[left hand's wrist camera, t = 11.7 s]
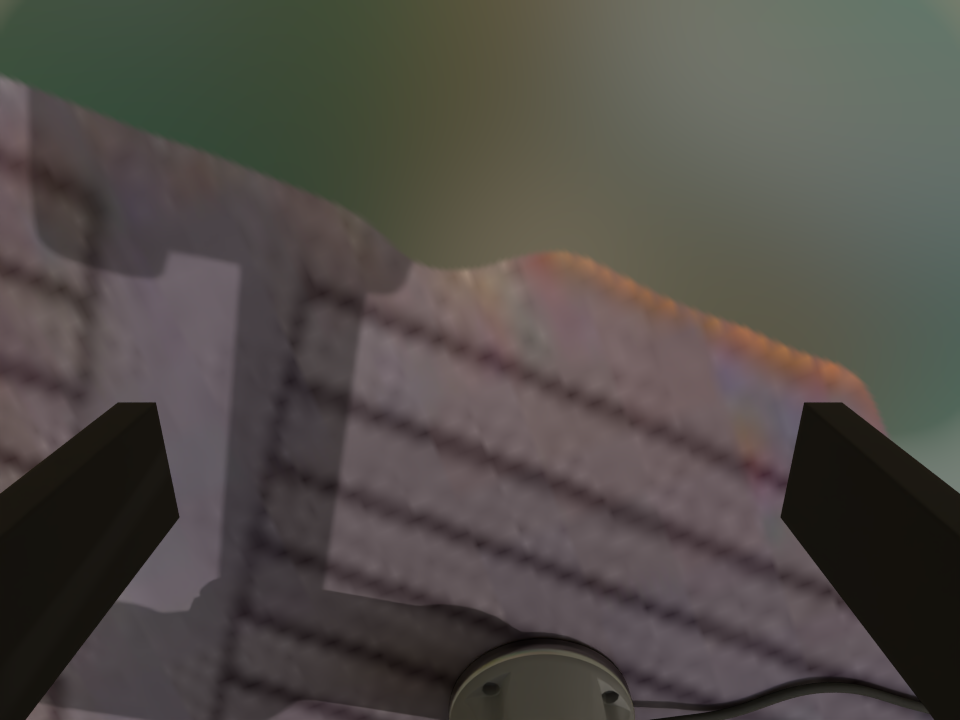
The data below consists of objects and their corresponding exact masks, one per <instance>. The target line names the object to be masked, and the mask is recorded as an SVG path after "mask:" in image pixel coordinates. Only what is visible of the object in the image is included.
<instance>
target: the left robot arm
mask: <svg viewBox="0 0 960 720" xmlns="http://www.w3.org/2000/svg"><path fill="white" fill-rule="evenodd" d="M178 519H179V513H178V508H177V503H176V498H175V493H174V488H173V484H172V479H171V474H170V469H169V464H168V459H167V454H166V450H165V445H164V440H163V435H162V430H161V425H160V420H159V416H158V411H157V406H156V403H117V404H115V405H114V406H113V407H112V408H110V409H109V410H108V411H106V412H105V413H104V414H103V415H101V416H100V417H99V418H97V419H96V420H95V421H93V422H92V423H91V424H90V425H88V426H87V427H86V428H84V429H83V430H82V431H81V432H79V433H78V434H77V435H75V436H74V437H73V438H72V439H70V440H69V441H68V442H66V443H65V444H64V445H62V446H61V447H60V448H59V449H57V450H56V451H55V452H53V453H52V454H51V455H50V456H48V457H47V458H46V459H44V460H43V461H42V462H41V463H39V464H38V465H37V466H35V467H34V468H33V469H32V470H30V471H29V472H28V473H26V474H25V475H24V476H22V477H21V478H20V479H19V480H17V481H16V482H15V483H13V484H12V485H11V486H10V487H8V488H7V489H6V490H4V491H3V492H2V493H1V494H0V720H26V718H27V717H28V716H29V714H30V713H31V712H32V711H33V709H34V708H35V707H36V705H37V704H38V703H39V701H40V700H41V699H42V697H43V696H44V695H45V693H46V692H47V691H48V690H49V688H50V687H51V686H52V684H53V683H54V682H55V680H56V679H57V678H58V676H59V675H60V674H61V672H62V671H63V670H64V668H65V667H66V666H67V665H68V663H69V662H70V661H71V659H72V658H73V657H74V655H75V654H76V653H77V651H78V650H79V649H80V647H81V646H82V645H83V643H84V642H85V641H86V640H87V638H88V637H89V636H90V634H91V633H92V632H93V630H94V629H95V628H96V626H97V625H98V624H99V622H100V621H101V620H102V619H103V617H104V616H105V615H106V613H107V612H108V611H109V609H110V608H111V607H112V605H113V604H114V603H115V601H116V600H117V599H118V597H119V596H120V595H121V594H122V592H123V591H124V590H125V588H126V587H127V586H128V584H129V583H130V582H131V580H132V579H133V578H134V576H135V575H136V574H137V572H138V571H139V570H140V569H141V567H142V566H143V565H144V563H145V562H146V561H147V559H148V558H149V557H150V555H151V554H152V553H153V551H154V550H155V549H156V547H157V546H158V545H159V544H160V542H161V541H162V540H163V538H164V537H165V536H166V534H167V533H168V532H169V530H170V529H171V528H172V526H173V525H174V524H175V523H176V521H177V520H178ZM781 519H782V520H783V521H784V523H785V524H786V525H787V526H788V528H789V529H790V530H791V532H792V533H793V534H794V536H795V537H796V538H797V540H798V541H799V542H800V544H801V545H802V546H803V547H804V549H805V550H806V551H807V553H808V554H809V555H810V557H811V558H812V559H813V561H814V562H815V563H816V565H817V566H818V567H819V569H820V570H821V571H822V572H823V574H824V575H825V576H826V578H827V579H828V580H829V582H830V583H831V584H832V586H833V587H834V588H835V590H836V591H837V592H838V594H839V595H840V596H841V597H842V599H843V600H844V601H845V603H846V604H847V605H848V607H849V608H850V609H851V611H852V612H853V613H854V615H855V616H856V617H857V619H858V620H859V621H860V622H861V624H862V625H863V626H864V628H865V629H866V630H867V632H868V633H869V634H870V636H871V637H872V638H873V640H874V641H875V642H876V643H877V645H878V646H879V647H880V649H881V650H882V651H883V653H884V654H885V655H886V657H887V658H888V659H889V661H890V662H891V663H892V665H893V666H894V667H895V668H896V670H897V671H898V672H899V674H900V675H901V676H902V678H903V679H904V680H905V682H906V683H907V684H908V686H909V687H910V688H911V690H912V691H913V692H914V693H915V695H916V696H917V697H918V699H919V700H920V701H921V702H918V701H914V700H910V699H907V698H903V697H900V696H897V695H894V694H890V693H887V692H884V691H881V690H877V689H874V688H870V687H866V686H862V685H856V684H850V683H836V682H828V683H812V684H805V685H800V686H795V687H791V688H787V689H784V690H781V691H777V692H775V693H772V694H769V695H766V696H763V697H760V698H758V699H755V700H752V701H749V702H746V703H743V704H740V705H737V706H733V707H730V708H726V709H721V710H717V711H712V712H706V713H699V714H691V715H683V716H675V717H668V718H660V719H652V720H725V719H729V718H733V717H737V716H740V715H744V714H747V713H750V712H753V711H756V710H759V709H761V708H764V707H767V706H770V705H773V704H775V703H778V702H781V701H784V700H788V699H791V698H795V697H799V696H804V695H809V694H816V693H835V692H837V693H852V694H859V695H864V696H868V697H872V698H876V699H879V700H883V701H886V702H889V703H892V704H895V705H899V706H902V707H905V708H909V709H913V710H916V711H920V712H924V713H928V714H931V716H932V717H933V718H934V720H960V494H959V493H958V492H957V491H956V490H954V489H953V488H952V487H950V486H949V485H948V484H947V483H945V482H944V481H943V480H941V479H940V478H939V477H938V476H936V475H935V474H934V473H932V472H931V471H930V470H928V469H927V468H926V467H925V466H923V465H922V464H921V463H919V462H918V461H917V460H916V459H914V458H913V457H912V456H910V455H909V454H908V453H906V452H905V451H904V450H903V449H901V448H900V447H899V446H898V445H896V444H895V443H894V442H892V441H891V440H890V439H888V438H887V437H886V436H885V435H883V434H882V433H881V432H879V431H878V430H877V429H876V428H874V427H873V426H872V425H870V424H869V423H868V422H867V421H865V420H864V419H863V418H861V417H860V416H859V415H857V414H856V413H855V412H854V411H852V410H851V409H850V408H848V407H847V406H846V405H845V404H843V403H804V406H803V411H802V416H801V420H800V425H799V430H798V435H797V440H796V445H795V450H794V454H793V459H792V464H791V469H790V474H789V479H788V484H787V488H786V493H785V498H784V503H783V508H782V513H781ZM449 720H635V714H634V708H633V703H632V700H631V696H630V692H629V688H628V686H627V683H626V681H625V679H624V677H623V676H622V674H621V673H620V671H619V670H618V669H617V668H616V667H615V666H614V665H613V664H612V663H611V662H610V661H609V660H608V659H606V658H605V657H604V656H602V655H601V654H599V653H597V652H596V651H594V650H592V649H590V648H587V647H585V646H582V645H579V644H576V643H572V642H568V641H563V640H554V639H532V640H524V641H519V642H514V643H510V644H507V645H504V646H501V647H499V648H496V649H494V650H492V651H490V652H488V653H486V654H485V655H483V656H481V657H480V658H478V659H477V660H476V661H474V662H473V663H472V664H471V665H470V666H469V667H468V668H467V669H466V670H465V671H464V672H463V673H462V675H461V676H460V677H459V679H458V681H457V682H456V684H455V686H454V688H453V691H452V694H451V699H450V710H449Z"/></svg>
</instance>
